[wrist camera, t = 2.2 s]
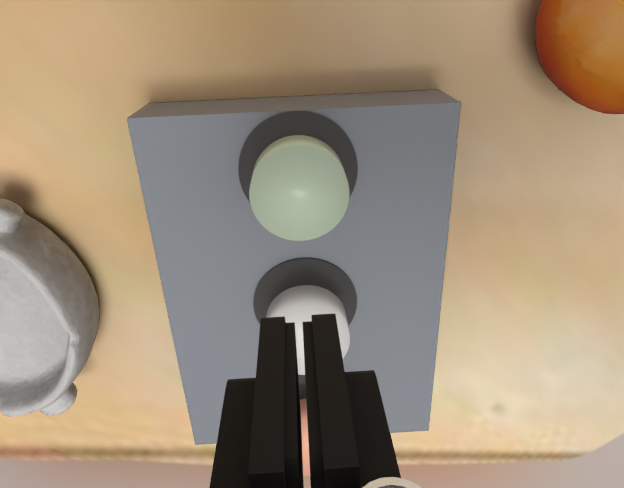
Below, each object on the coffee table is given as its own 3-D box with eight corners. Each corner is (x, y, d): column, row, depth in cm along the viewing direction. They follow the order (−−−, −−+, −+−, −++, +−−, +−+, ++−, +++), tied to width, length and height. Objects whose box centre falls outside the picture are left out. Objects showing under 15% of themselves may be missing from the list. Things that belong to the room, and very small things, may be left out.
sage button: (344, 132, 22) (349, 144, 20) (345, 220, 24) (349, 238, 22) (248, 137, 22) (244, 149, 20) (257, 225, 24) (254, 243, 22)
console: (437, 89, 27) (462, 103, 23) (414, 388, 36) (429, 432, 33) (148, 102, 26) (125, 119, 22) (204, 401, 36) (194, 447, 32)
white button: (345, 282, 25) (349, 303, 24) (346, 348, 27) (350, 372, 26) (262, 287, 25) (260, 308, 23) (269, 353, 27) (267, 377, 25)
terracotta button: (346, 395, 29) (350, 421, 27) (346, 446, 31) (350, 473, 29) (273, 400, 29) (273, 426, 27) (279, 450, 31) (278, 478, 29)
